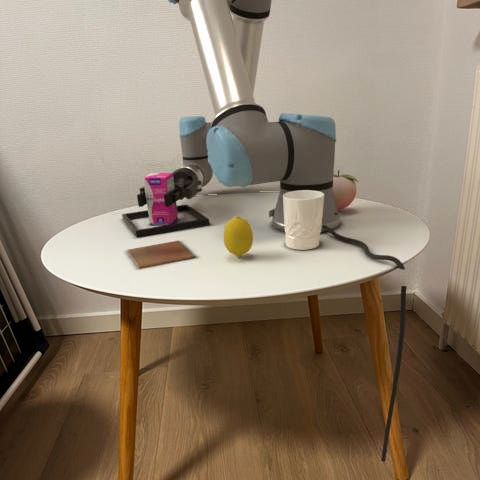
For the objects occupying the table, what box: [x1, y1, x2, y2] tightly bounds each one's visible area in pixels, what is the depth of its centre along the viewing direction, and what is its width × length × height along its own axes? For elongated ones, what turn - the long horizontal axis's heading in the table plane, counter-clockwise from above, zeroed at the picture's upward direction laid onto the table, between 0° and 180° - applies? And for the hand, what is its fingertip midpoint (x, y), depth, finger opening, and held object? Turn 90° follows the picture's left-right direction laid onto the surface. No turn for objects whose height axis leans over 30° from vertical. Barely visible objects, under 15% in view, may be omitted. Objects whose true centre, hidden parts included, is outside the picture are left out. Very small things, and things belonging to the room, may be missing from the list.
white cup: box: [283, 190, 324, 251], centre depth 85 cm, size 8×8×10 cm
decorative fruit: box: [333, 169, 359, 212], centre depth 105 cm, size 9×8×10 cm
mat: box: [127, 240, 196, 269], centre depth 86 cm, size 11×11×1 cm
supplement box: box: [142, 172, 179, 226], centre depth 105 cm, size 6×6×12 cm
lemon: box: [223, 215, 254, 259], centre depth 81 cm, size 6×6×8 cm
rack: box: [121, 204, 210, 238], centre depth 107 cm, size 18×18×2 cm
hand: (152, 200), depth 100 cm, fingers closed on supplement box, 6 cm apart
